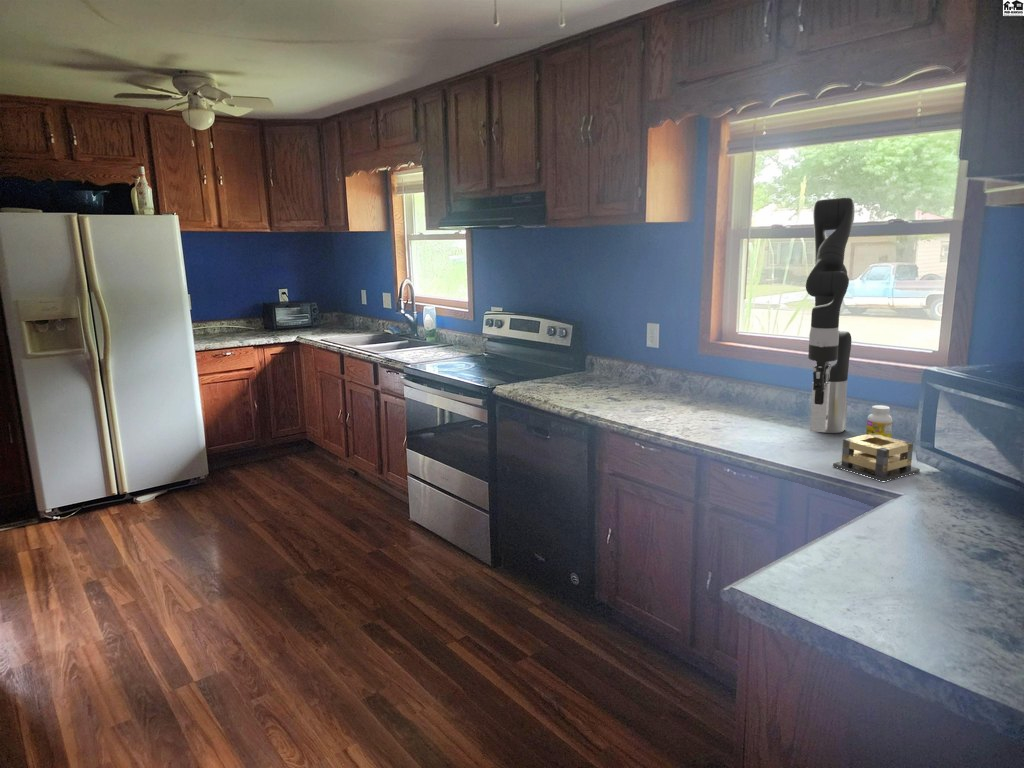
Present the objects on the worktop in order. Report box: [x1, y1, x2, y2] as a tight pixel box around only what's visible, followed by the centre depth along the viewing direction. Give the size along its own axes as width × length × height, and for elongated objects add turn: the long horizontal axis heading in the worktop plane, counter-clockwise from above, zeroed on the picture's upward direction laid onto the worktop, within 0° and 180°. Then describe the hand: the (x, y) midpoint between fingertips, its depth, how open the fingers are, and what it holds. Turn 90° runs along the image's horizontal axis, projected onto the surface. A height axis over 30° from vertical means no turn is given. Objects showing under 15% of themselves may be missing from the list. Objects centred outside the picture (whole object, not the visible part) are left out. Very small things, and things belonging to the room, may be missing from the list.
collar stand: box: [832, 433, 921, 482], centre depth 180 cm, size 15×15×8 cm
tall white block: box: [809, 382, 830, 433], centre depth 189 cm, size 4×4×14 cm
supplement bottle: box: [865, 404, 894, 438], centre depth 198 cm, size 7×7×13 cm
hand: (820, 402), depth 189 cm, fingers closed on tall white block, 4 cm apart
